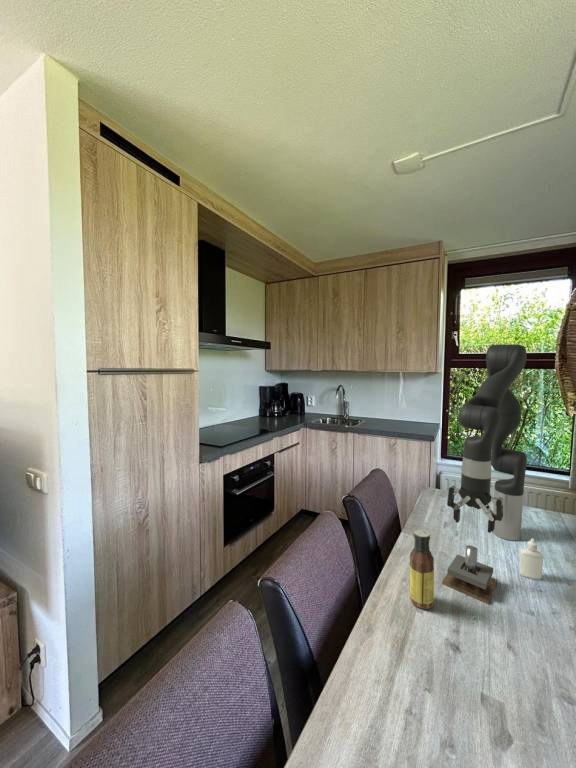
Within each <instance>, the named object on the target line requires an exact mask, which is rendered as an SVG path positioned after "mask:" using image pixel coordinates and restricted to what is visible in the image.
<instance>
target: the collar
mask: <svg viewBox="0 0 576 768" xmlns="http://www.w3.org/2000/svg"><path fill="white" fill-rule="evenodd" d="M465 557H466V556H463V555H460V554H456V556H455V557H454V559H453V560H452V562H451V563H450V565H449V566H448V567H447V570H446V571H447V573H446V575H447V574H449V575H451V576H454V577H456V578H458V579H461V580H463V581H466V582H468V583H470V584H473V585H475V586H477V587H480V588H482V589H485V590H486V588H487V586H488V583H489V581H490V579H491V577H492V576H493V574H494V567H492V566H489V565H487V564H484V563H481V562H480V561H479V562H478V561H477V567H476V572H479V573H478V575H475V574H472V573H470V572H467V571H465V570H462V569H463V567H465ZM492 578H493V577H492Z"/></svg>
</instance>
